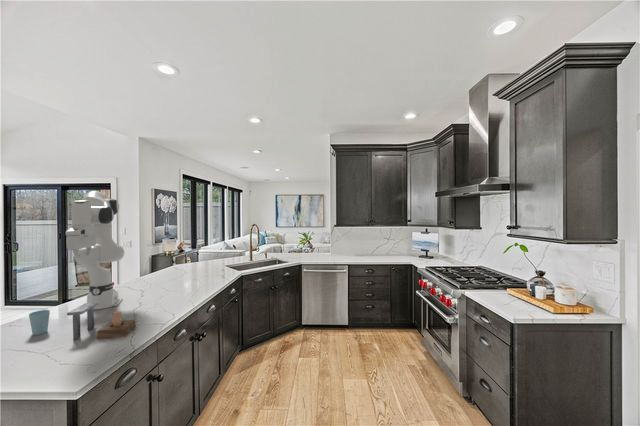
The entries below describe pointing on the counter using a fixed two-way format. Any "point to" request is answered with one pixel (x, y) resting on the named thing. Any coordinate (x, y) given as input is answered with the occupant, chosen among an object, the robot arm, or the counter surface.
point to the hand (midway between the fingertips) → (82, 256)
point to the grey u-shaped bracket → (76, 318)
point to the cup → (39, 321)
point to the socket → (116, 329)
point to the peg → (116, 319)
